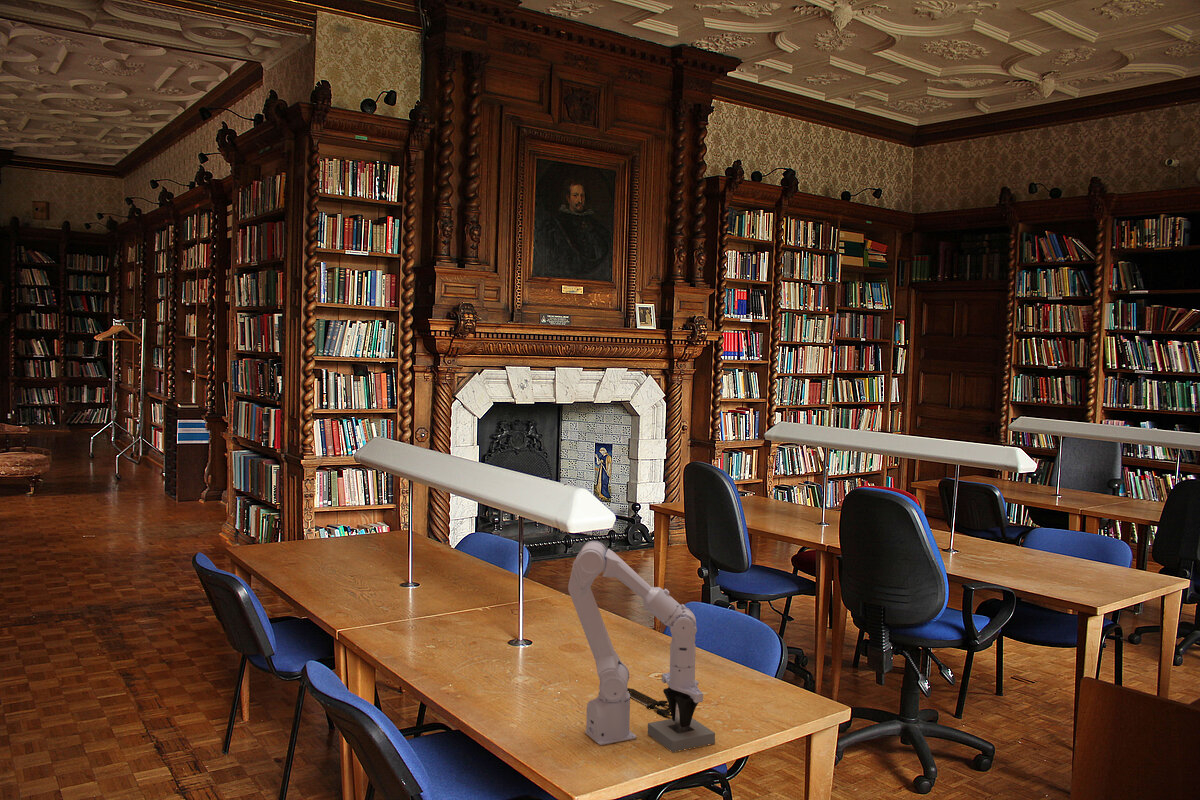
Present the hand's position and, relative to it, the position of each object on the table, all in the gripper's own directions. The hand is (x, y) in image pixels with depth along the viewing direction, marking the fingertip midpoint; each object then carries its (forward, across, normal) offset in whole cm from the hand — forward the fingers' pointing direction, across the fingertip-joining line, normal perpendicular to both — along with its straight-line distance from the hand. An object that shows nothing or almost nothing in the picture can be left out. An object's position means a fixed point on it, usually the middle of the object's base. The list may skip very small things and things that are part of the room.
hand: (681, 723), depth 209 cm
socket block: (+4, 0, 0) cm, 4 cm away
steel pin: (+2, 0, 0) cm, 2 cm away
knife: (+4, +22, -4) cm, 23 cm away
